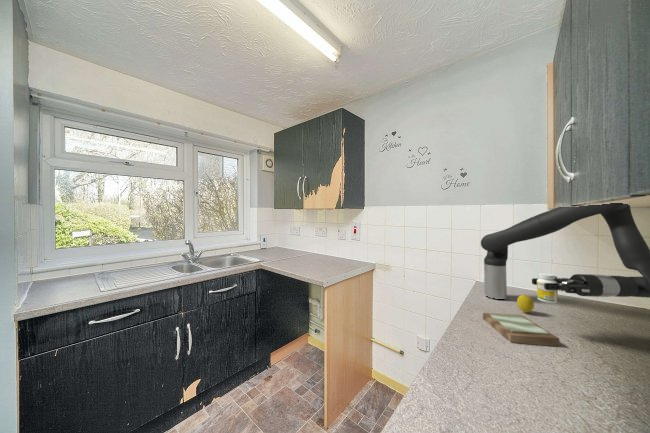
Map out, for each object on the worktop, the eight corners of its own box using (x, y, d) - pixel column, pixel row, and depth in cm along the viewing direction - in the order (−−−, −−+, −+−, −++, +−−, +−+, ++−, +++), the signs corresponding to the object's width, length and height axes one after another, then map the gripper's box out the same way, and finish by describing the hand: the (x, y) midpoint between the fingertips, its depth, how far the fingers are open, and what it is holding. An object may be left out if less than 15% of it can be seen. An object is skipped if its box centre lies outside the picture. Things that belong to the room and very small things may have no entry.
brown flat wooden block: (482, 318, 93) (482, 311, 93) (521, 321, 91) (521, 313, 91) (510, 342, 75) (510, 333, 75) (559, 346, 73) (559, 336, 73)
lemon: (534, 316, 94) (534, 297, 94) (517, 313, 98) (517, 295, 98) (533, 312, 99) (532, 294, 99) (516, 309, 102) (516, 291, 102)
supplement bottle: (548, 304, 78) (548, 276, 78) (533, 298, 84) (532, 272, 84) (562, 303, 79) (561, 275, 79) (545, 297, 84) (545, 272, 84)
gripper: (574, 269, 86) (524, 269, 89) (616, 280, 72) (555, 278, 75) (574, 289, 86) (524, 287, 89) (616, 303, 72) (555, 301, 75)
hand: (538, 283), depth 82 cm, fingers closed on supplement bottle, 5 cm apart
